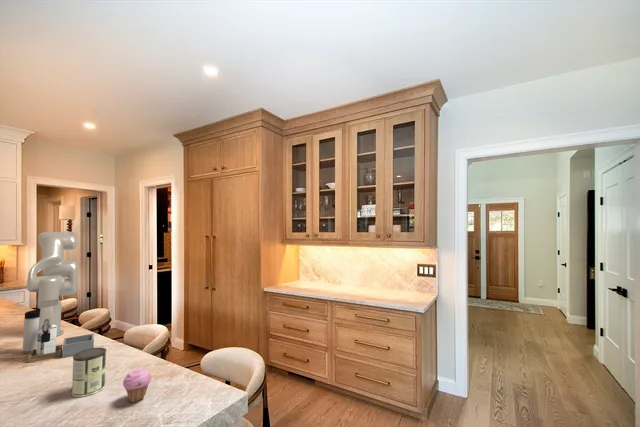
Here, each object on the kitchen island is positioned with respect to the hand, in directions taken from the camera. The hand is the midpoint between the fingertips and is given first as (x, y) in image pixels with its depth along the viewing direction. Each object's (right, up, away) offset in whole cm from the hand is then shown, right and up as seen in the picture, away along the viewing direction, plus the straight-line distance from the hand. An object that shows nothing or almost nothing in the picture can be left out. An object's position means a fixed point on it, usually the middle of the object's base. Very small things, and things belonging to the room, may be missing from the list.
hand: (46, 339), depth 149 cm
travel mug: (-13, -9, +6) cm, 17 cm away
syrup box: (0, -8, 0) cm, 8 cm away
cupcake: (+66, -6, -38) cm, 76 cm away
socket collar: (0, -8, 0) cm, 8 cm away
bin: (+11, -8, +6) cm, 15 cm away
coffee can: (+44, -7, -32) cm, 55 cm away
